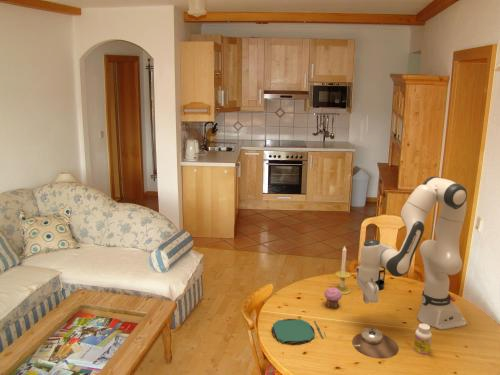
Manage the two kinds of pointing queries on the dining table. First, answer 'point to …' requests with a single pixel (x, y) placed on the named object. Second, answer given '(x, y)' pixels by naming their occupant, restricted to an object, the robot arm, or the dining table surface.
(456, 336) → the dining table surface
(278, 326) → the cutlery set
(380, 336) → the cover
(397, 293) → the dining table surface
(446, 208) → the robot arm
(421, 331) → the supplement bottle
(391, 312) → the dining table surface
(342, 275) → the candle
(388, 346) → the platter
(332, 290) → the cupcake
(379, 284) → the french press
